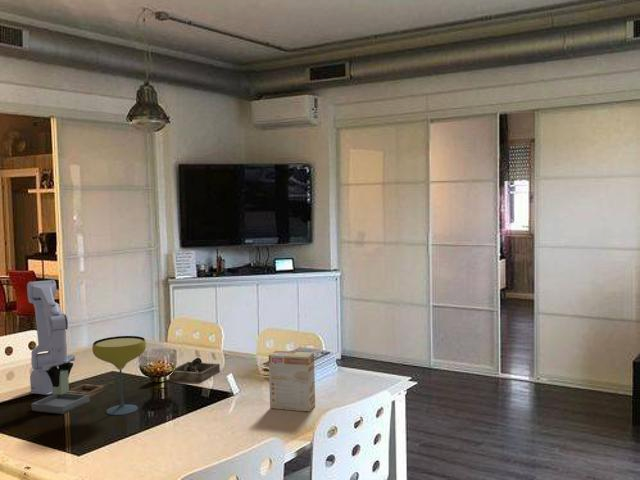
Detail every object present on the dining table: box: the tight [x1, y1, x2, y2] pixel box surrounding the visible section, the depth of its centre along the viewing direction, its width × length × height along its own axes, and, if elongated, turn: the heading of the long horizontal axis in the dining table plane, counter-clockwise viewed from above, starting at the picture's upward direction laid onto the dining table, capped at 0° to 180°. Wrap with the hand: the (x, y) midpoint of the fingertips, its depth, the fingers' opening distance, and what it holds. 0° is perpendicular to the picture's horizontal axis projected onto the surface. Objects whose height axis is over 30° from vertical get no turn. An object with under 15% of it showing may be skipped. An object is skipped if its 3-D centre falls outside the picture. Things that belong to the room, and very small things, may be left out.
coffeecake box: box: [268, 350, 316, 413], centre depth 225 cm, size 15×7×20 cm, turn 71°
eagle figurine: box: [184, 357, 203, 373], centre depth 271 cm, size 8×7×9 cm
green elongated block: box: [51, 369, 70, 395], centre depth 231 cm, size 4×4×8 cm
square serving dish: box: [168, 361, 221, 383], centre depth 268 cm, size 15×15×4 cm
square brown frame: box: [66, 383, 107, 398], centre depth 248 cm, size 10×10×2 cm
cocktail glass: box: [92, 335, 147, 416], centre depth 225 cm, size 18×18×25 cm
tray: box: [30, 393, 91, 415], centre depth 232 cm, size 14×14×2 cm
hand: (60, 384), depth 232 cm, fingers closed on green elongated block, 4 cm apart
